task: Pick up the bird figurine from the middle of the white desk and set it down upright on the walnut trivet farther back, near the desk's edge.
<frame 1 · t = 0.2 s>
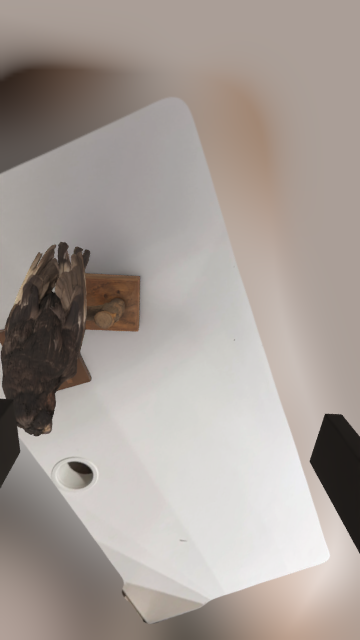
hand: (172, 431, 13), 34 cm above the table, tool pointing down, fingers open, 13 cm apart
bird figurine: (102, 279, 45), on the table
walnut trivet: (46, 355, 49), on the table
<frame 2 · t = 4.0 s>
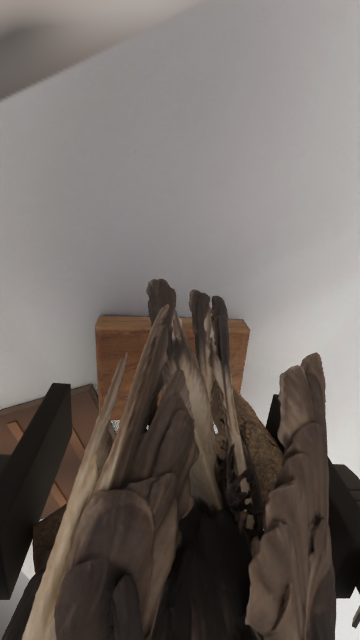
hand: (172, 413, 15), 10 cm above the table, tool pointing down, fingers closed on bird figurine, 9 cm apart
bird figurine: (172, 325, 24), on the table, touching gripper
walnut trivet: (65, 452, 28), on the table
when the fingers open (11 cm above the table, at t = 11.1 s): bird figurine stays where it is, resting on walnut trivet.
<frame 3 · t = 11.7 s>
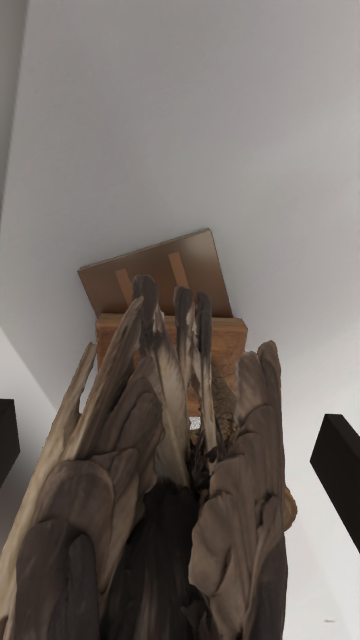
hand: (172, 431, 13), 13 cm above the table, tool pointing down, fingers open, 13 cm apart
bird figurine: (171, 323, 24), point 1 cm above the table, touching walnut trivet
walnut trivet: (168, 320, 25), on the table
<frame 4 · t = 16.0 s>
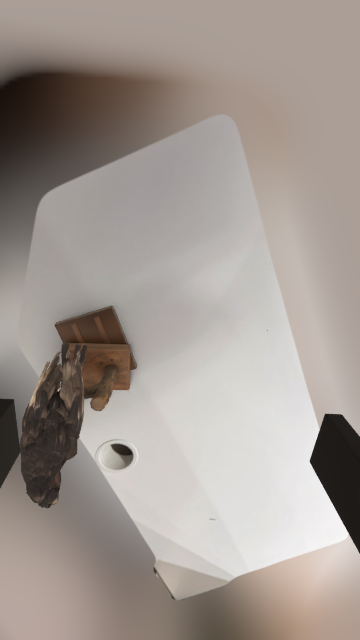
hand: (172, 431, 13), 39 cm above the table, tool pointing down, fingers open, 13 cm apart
bird figurine: (98, 347, 53), point 1 cm above the table, touching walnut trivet
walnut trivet: (98, 344, 54), on the table
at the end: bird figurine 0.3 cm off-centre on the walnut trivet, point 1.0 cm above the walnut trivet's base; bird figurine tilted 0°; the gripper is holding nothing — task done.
